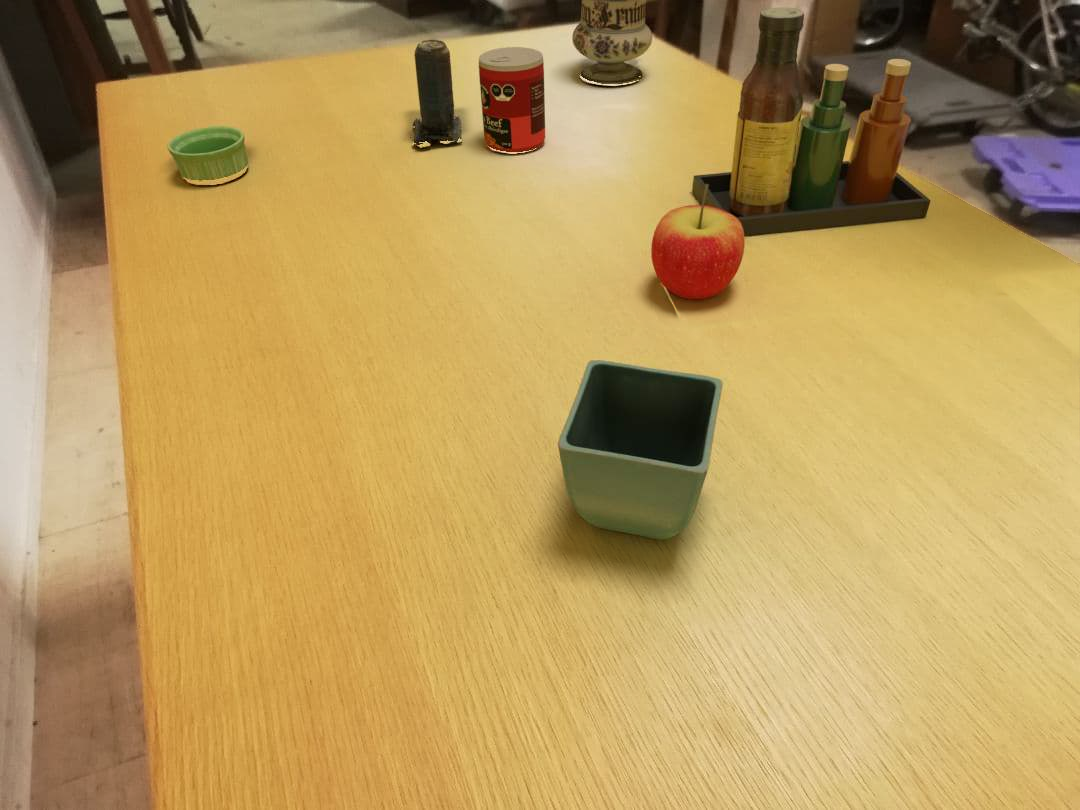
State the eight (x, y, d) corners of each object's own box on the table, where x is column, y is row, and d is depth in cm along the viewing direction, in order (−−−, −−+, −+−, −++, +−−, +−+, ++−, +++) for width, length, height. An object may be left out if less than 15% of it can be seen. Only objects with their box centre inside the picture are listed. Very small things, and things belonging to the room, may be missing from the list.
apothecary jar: (644, 92, 116) (652, -46, 105) (565, 88, 119) (564, -47, 107) (654, 66, 125) (662, -63, 113) (580, 63, 127) (581, -64, 116)
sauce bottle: (797, 216, 84) (836, 16, 71) (747, 228, 83) (779, 25, 70) (762, 192, 89) (793, 0, 76) (714, 202, 87) (738, 8, 74)
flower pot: (692, 572, 49) (708, 472, 44) (557, 545, 51) (555, 445, 46) (708, 475, 56) (724, 376, 50) (587, 454, 58) (589, 357, 52)
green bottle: (820, 192, 88) (849, 57, 79) (840, 212, 85) (873, 73, 75) (778, 196, 88) (802, 61, 79) (796, 216, 84) (823, 77, 75)
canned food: (476, 139, 104) (469, 52, 97) (531, 128, 107) (528, 43, 99) (497, 160, 99) (491, 69, 92) (555, 148, 101) (553, 59, 94)
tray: (874, 177, 92) (879, 157, 90) (924, 221, 83) (931, 200, 82) (691, 195, 90) (693, 175, 88) (723, 242, 81) (726, 220, 80)
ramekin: (241, 153, 103) (232, 120, 100) (262, 177, 97) (253, 142, 94) (171, 170, 99) (159, 136, 97) (188, 196, 94) (176, 160, 91)
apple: (743, 274, 76) (759, 177, 70) (728, 322, 70) (744, 220, 64) (660, 262, 78) (667, 166, 72) (639, 306, 72) (645, 207, 66)
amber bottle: (875, 186, 89) (910, 52, 80) (896, 206, 85) (936, 67, 76) (833, 190, 89) (863, 56, 79) (853, 210, 85) (887, 71, 75)
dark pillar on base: (472, 144, 103) (463, 48, 95) (414, 152, 101) (400, 55, 94) (458, 120, 110) (449, 28, 102) (403, 128, 108) (390, 35, 100)
